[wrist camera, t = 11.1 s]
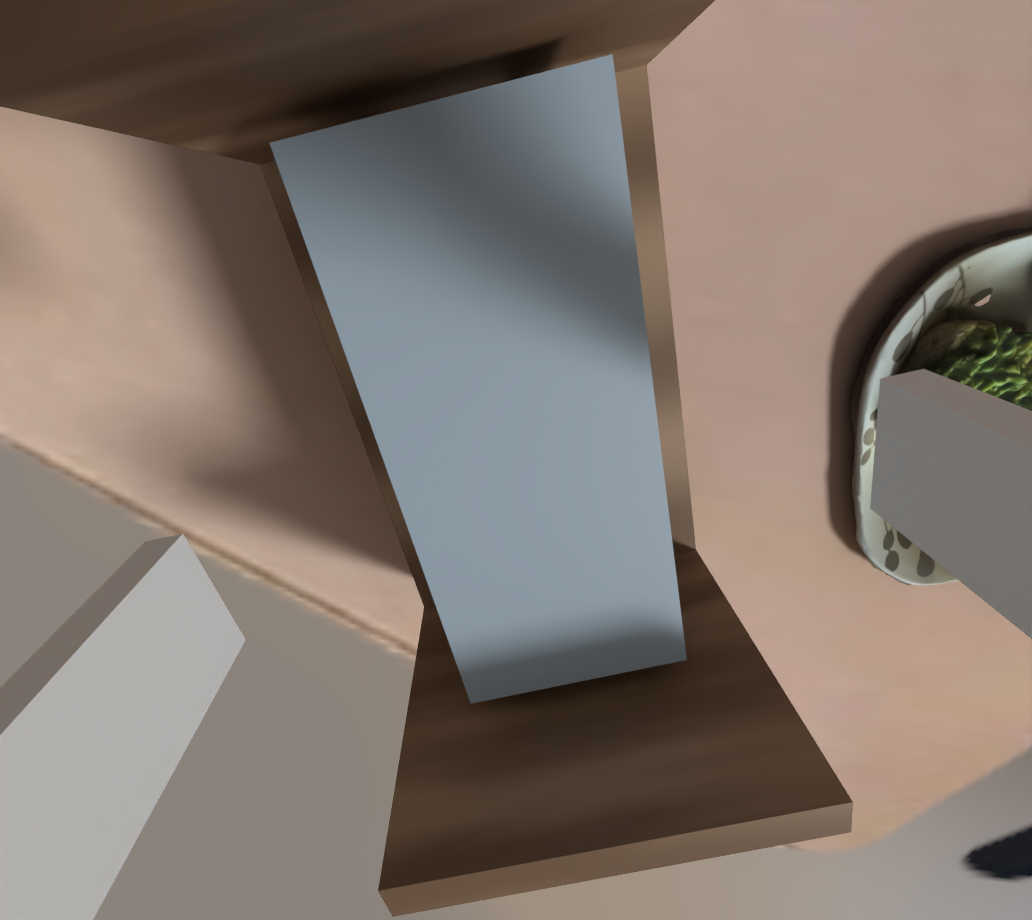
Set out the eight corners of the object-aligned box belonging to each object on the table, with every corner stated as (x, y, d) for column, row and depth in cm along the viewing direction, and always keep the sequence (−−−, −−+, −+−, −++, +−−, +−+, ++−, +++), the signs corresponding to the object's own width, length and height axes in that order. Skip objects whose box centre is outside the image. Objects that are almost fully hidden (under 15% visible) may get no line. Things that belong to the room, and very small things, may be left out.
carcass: (278, 133, 19) (-155, -37, 6) (618, 45, 18) (915, -342, 6) (437, 586, 27) (392, 916, 14) (676, 535, 26) (851, 832, 14)
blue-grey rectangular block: (319, 159, 14) (269, 143, 11) (583, 91, 14) (612, 54, 11) (473, 628, 21) (470, 703, 17) (655, 590, 20) (687, 659, 17)
